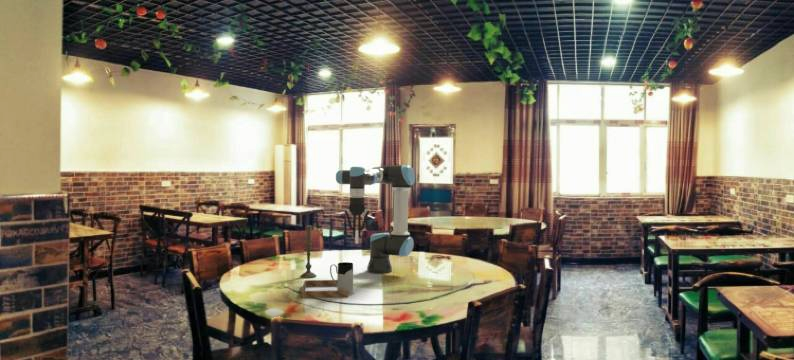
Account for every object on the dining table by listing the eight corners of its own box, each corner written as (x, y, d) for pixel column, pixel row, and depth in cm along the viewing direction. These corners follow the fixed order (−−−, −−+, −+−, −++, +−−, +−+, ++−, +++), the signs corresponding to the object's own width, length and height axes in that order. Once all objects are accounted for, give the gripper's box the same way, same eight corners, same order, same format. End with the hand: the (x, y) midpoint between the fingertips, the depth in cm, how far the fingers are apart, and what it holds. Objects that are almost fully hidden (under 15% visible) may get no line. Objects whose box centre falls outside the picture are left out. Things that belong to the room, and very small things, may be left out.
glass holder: (346, 296, 236) (346, 266, 235) (324, 292, 244) (324, 262, 243) (357, 293, 243) (357, 263, 243) (335, 289, 251) (336, 260, 251)
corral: (347, 285, 259) (347, 279, 259) (348, 297, 235) (348, 290, 235) (304, 286, 257) (304, 280, 257) (300, 297, 233) (300, 291, 233)
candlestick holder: (318, 275, 284) (318, 223, 283) (313, 278, 275) (314, 225, 274) (302, 274, 285) (303, 223, 284) (298, 278, 275) (298, 225, 275)
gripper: (344, 197, 243) (343, 244, 244) (370, 197, 245) (369, 244, 245) (344, 196, 250) (343, 242, 251) (369, 196, 252) (369, 242, 253)
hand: (356, 243), depth 248 cm, fingers closed
